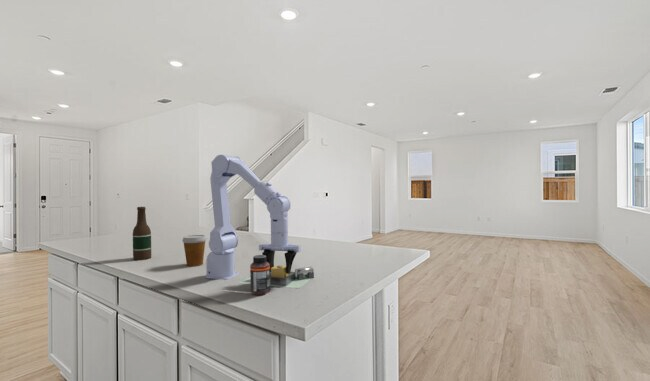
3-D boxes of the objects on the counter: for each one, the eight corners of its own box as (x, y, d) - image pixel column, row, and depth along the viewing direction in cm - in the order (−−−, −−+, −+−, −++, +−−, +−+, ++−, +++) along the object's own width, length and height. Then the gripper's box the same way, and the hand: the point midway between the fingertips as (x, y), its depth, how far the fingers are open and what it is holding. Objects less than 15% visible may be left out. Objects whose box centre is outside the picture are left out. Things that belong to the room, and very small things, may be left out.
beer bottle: (155, 257, 152) (154, 206, 152) (138, 261, 146) (137, 207, 145) (146, 256, 156) (145, 206, 156) (129, 259, 150) (128, 207, 149)
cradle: (263, 285, 108) (263, 276, 108) (274, 278, 116) (274, 270, 116) (286, 287, 106) (286, 278, 106) (295, 280, 113) (295, 271, 113)
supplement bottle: (252, 289, 104) (251, 254, 103) (270, 289, 104) (270, 253, 104) (249, 296, 98) (248, 258, 97) (269, 295, 98) (268, 257, 98)
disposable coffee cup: (180, 264, 139) (179, 236, 139) (202, 260, 145) (202, 233, 145) (186, 268, 131) (185, 238, 131) (210, 264, 137) (209, 236, 137)
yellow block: (276, 279, 113) (276, 264, 113) (288, 280, 112) (288, 264, 112) (271, 283, 109) (270, 267, 109) (283, 284, 108) (283, 268, 108)
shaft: (298, 281, 112) (298, 270, 112) (294, 278, 115) (294, 267, 115) (314, 278, 115) (314, 267, 115) (309, 276, 118) (309, 265, 118)
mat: (238, 284, 110) (238, 283, 110) (260, 271, 125) (260, 270, 125) (299, 289, 103) (299, 288, 103) (315, 275, 119) (315, 274, 119)
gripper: (254, 233, 109) (254, 273, 109) (294, 234, 104) (295, 276, 105) (264, 230, 115) (264, 268, 116) (302, 231, 111) (303, 271, 111)
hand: (279, 272), depth 111 cm, fingers open, 6 cm apart
